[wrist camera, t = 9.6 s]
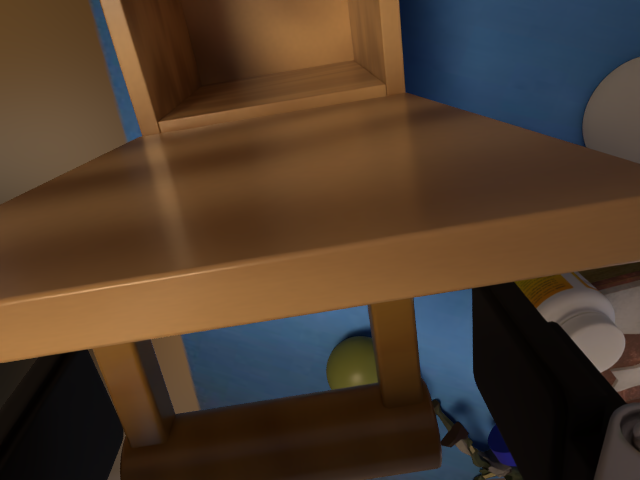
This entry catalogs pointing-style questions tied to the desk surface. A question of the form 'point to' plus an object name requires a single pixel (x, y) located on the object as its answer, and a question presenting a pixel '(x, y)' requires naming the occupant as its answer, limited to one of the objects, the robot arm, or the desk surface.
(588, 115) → the pill bottle
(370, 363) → the pear
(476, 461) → the zombie figurine
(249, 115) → the chest
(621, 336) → the supplement bottle
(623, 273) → the book
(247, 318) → the lid
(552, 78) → the desk surface
